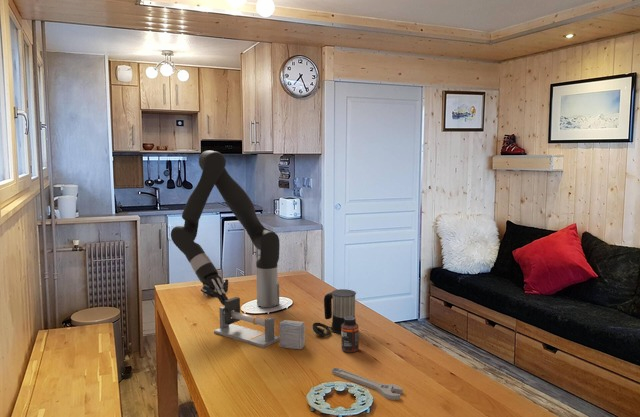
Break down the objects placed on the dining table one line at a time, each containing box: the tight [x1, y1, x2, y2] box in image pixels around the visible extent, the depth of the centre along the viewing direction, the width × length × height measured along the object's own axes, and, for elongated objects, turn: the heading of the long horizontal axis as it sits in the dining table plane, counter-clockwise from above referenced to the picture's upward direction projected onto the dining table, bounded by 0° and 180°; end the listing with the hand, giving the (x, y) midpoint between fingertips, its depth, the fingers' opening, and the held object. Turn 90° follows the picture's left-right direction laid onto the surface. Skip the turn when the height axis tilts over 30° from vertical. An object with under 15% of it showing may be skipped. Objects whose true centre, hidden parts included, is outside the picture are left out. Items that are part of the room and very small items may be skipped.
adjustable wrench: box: [331, 367, 404, 401], centre depth 151 cm, size 25×6×2 cm, turn 44°
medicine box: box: [279, 319, 306, 351], centre depth 178 cm, size 8×4×9 cm, turn 71°
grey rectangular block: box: [202, 268, 224, 297], centre depth 246 cm, size 14×5×10 cm, turn 154°
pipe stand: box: [213, 305, 280, 349], centre depth 188 cm, size 25×9×9 cm, turn 54°
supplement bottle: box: [340, 316, 360, 353], centre depth 175 cm, size 6×6×11 cm
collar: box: [224, 296, 241, 325], centre depth 192 cm, size 2×6×9 cm, turn 144°
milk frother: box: [311, 288, 357, 337], centre depth 192 cm, size 14×16×15 cm
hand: (226, 303), depth 193 cm, fingers closed
